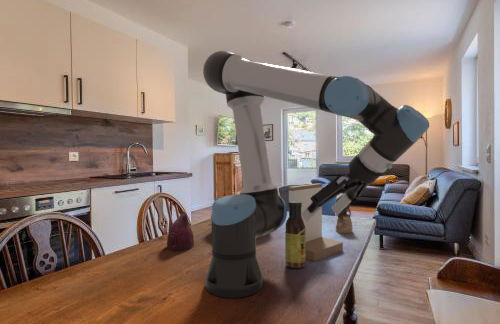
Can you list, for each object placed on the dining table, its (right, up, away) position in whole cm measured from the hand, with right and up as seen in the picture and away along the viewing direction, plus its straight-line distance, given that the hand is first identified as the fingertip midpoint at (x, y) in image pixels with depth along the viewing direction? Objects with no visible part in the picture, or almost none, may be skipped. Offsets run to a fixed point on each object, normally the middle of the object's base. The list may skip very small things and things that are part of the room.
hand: (320, 214), depth 85 cm
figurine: (+21, -16, +47) cm, 54 cm away
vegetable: (-46, -17, +28) cm, 57 cm away
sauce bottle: (-6, -17, +8) cm, 20 cm away
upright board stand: (+3, -17, +20) cm, 26 cm away
